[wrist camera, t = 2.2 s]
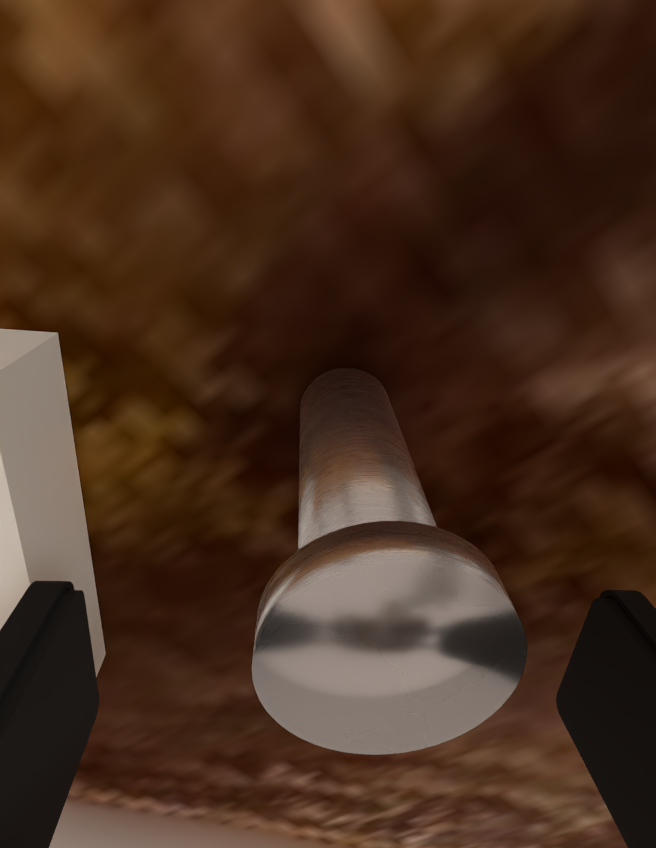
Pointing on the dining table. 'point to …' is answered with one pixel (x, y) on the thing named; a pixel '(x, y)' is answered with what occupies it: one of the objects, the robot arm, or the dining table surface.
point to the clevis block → (40, 479)
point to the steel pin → (378, 595)
